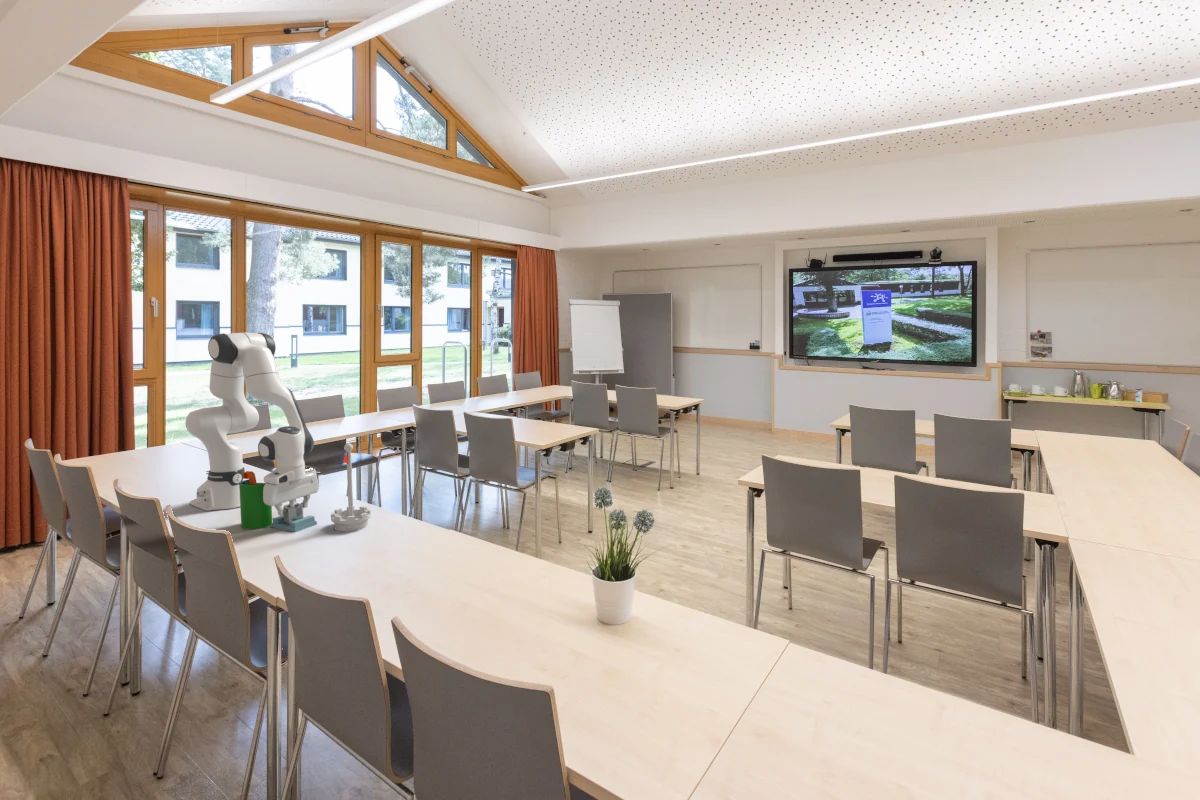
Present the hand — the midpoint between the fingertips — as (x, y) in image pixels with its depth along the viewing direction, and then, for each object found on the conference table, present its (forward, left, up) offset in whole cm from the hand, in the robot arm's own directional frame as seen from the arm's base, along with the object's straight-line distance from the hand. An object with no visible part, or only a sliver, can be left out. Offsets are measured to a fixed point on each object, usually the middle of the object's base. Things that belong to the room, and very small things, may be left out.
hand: (293, 511), depth 219 cm
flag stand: (+18, +9, -6) cm, 21 cm away
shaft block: (0, 0, -5) cm, 5 cm away
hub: (0, 0, -3) cm, 3 cm away
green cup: (-12, -6, -6) cm, 14 cm away
